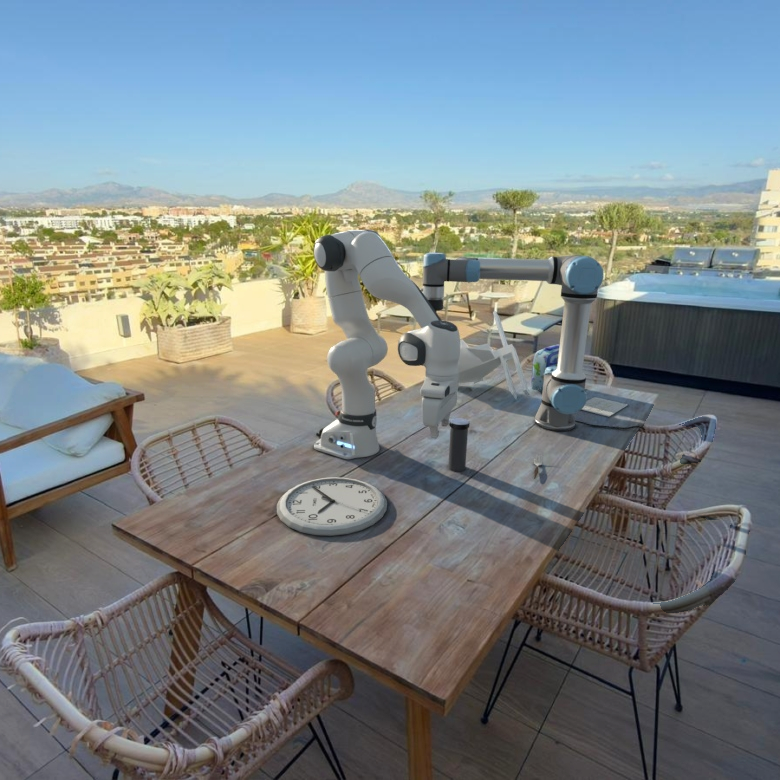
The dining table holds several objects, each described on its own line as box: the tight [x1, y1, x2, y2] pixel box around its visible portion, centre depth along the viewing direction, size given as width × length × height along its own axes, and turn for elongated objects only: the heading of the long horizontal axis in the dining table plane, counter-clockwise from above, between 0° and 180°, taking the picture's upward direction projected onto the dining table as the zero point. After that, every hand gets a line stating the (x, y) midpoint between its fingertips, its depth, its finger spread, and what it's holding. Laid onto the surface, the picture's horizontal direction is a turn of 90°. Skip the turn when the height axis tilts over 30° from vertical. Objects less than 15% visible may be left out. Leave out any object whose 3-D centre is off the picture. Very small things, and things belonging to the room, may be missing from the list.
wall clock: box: [276, 476, 388, 537], centre depth 142 cm, size 30×2×30 cm
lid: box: [448, 417, 470, 430], centre depth 162 cm, size 6×6×2 cm
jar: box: [447, 427, 469, 472], centre depth 164 cm, size 5×5×15 cm
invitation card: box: [580, 396, 629, 418], centre depth 226 cm, size 21×1×15 cm
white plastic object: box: [458, 310, 531, 400], centre depth 245 cm, size 37×45×31 cm
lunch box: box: [530, 344, 560, 393], centre depth 247 cm, size 26×11×21 cm, turn 134°
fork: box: [533, 454, 544, 480], centre depth 165 cm, size 3×16×2 cm, turn 160°
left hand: (439, 431), depth 143 cm, fingers open, 8 cm apart
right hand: (430, 357), depth 190 cm, fingers open, 13 cm apart
